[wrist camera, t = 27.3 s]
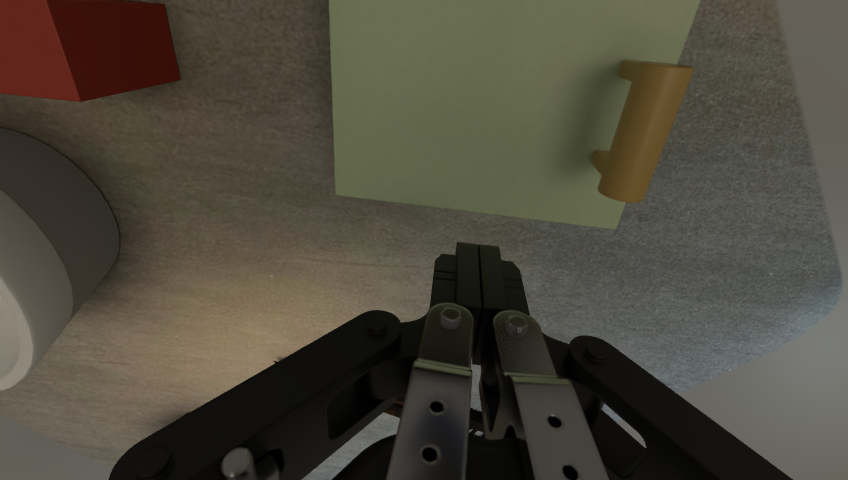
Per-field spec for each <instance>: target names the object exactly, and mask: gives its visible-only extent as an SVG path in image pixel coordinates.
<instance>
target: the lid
mask: <svg viewBox="0 0 848 480" xmlns="http://www.w3.org/2000/svg"><path fill="white" fill-rule="evenodd" d="M700 2H701V0H329V26H330V54H331V83H332V112H333V141H334V169H335V194H336V195H338V196H346V197H354V198H362V199H370V200H379V201H387V202H395V203H403V204H411V205H419V206H427V207H435V208H444V209H452V210H460V211H468V212H476V213H484V214H492V215H500V216H509V217H517V218H525V219H533V220H541V221H549V222H557V223H566V224H574V225H582V226H590V227H598V228H606V229H614V230H615V229H616V228H617V225H618V223H619V220H620V217H621V215H622V212H623V209H624V207H625V204H626V202H629V203H636V202H640V201H642V200H643V199H644V196H645V194H646V191H647V189H648V186H649V183H650V181H651V178H652V176H653V173H654V171H655V168H656V166H657V163H658V161H659V158H660V156H661V153H662V150H663V148H664V145H665V143H666V140H667V138H668V135H669V133H670V130H671V128H672V125H673V123H674V120H675V117H676V115H677V112H678V110H679V107H680V105H681V102H682V100H683V97H684V95H685V92H686V89H687V87H688V84H689V82H690V79H691V77H692V74H693V72H694V68H693V67H690V66H685V65H678V61H679V58H680V56H681V53H682V50H683V48H684V45H685V42H686V40H687V37H688V34H689V32H690V29H691V26H692V23H693V21H694V18H695V15H696V13H697V10H698V7H699V5H700Z"/></svg>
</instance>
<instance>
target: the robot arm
mask: <svg viewBox="0 0 848 480" xmlns="http://www.w3.org/2000/svg"><path fill="white" fill-rule="evenodd" d="M471 357H472V364H476V365H481V376H480V381H479V393H480V400H481V408H482V415H483V423H484V430H485V438H486V439H485V438H482V437H480V436H477V435H474V434H472V433H469V417H470V402H471V387H472V370H471ZM401 396H406V397H405V401H404V405H403V409H402V413H401V418H400V422H399V426H398V430H397V434H396V435H392V436H389V437H386V438H384V439H381V440H379V441H377V442H376V443H374V444H372V445H370V446H369V447H368V448H366V449H365V450H363V451H362V452H361V453H360V454H359V455H358V456H357V457H356V458H354V459H353V460H352V461H351V462H350V463H349V464H348V465H347V466H346V467H345V468H344V469H343V470H342V471H341V472H339V473H338V474H337V475H336V476H335V477H334V478H333V479H332V480H793V479H791V478H790V477H789V476H787V475H786V474H785V473H783V472H782V471H781V470H779V469H777V468H776V467H775V466H774V465H772V464H771V463H770V462H768V461H767V460H766V459H764V458H763V457H762V456H760V455H759V454H758V453H756V452H755V451H753V450H752V449H751V448H749V447H748V446H747V445H745V444H744V443H743V442H741V441H740V440H739V439H737V438H736V437H735V436H733V435H732V434H731V433H729V432H728V431H726V430H725V429H724V428H722V427H721V426H720V425H718V424H717V423H716V422H714V421H713V420H711V419H710V418H709V417H707V416H706V415H705V414H703V413H702V412H701V411H699V410H698V409H697V408H695V407H694V406H692V405H691V404H690V403H689V402H687V401H686V400H685V399H683V398H682V397H681V396H679V395H678V394H676V393H675V392H674V391H672V390H671V389H670V388H668V387H667V386H666V385H664V384H663V383H662V382H660V381H659V380H658V379H656V378H655V377H654V376H652V375H651V374H649V373H648V372H647V371H645V370H644V369H643V368H641V367H640V366H639V365H637V364H636V363H635V362H633V361H632V360H631V359H629V358H628V357H626V356H625V355H624V354H622V353H621V352H620V351H618V350H617V349H616V348H614V347H613V346H612V345H610V344H609V343H607V342H605V341H604V340H601V339H599V338H596V337H592V336H578V337H575V338H574V339H572V341H571V342H570V344H567V343H564V342H561V341H559V340H556V339H553V338H551V337H549V336H547V335H545V334H543V333H542V331H541V328H540V326H539V324H538V323H537V321H536V320H535V319H533V318H532V317H531V316H530V314H529V309H528V305H527V300H526V296H525V291H524V287H523V282H522V278H521V273H520V270H519V269H518V268H517V267H516V265H515V264H514V263H513V262H512V261H503V260H501V256H500V249H499V246H490V245H482V244H479V245H477V244H472V243H463V242H457V246H456V253H455V255H449V254H441V255H440V256H439V257H438V258H437V259H436V261H435V267H434V275H433V284H432V293H431V302H430V309H429V311H428V312H427V314H426V315H425V316H423V317H422V318H420V319H418V320H415V321H410V322H403V323H401V322H400V320H399V319H398V318H397V317H396V316H395V315H393V314H392V313H389V312H386V311H381V310H373V311H368V312H365V313H363V314H361V315H359V316H357V317H355V318H354V319H352V320H350V321H348V322H347V323H345V324H343V325H341V326H340V327H338V328H336V329H335V330H333V331H331V332H329V333H328V334H326V335H324V336H322V337H321V338H319V339H317V340H315V341H314V342H312V343H310V344H308V345H307V346H305V347H303V348H301V349H300V350H298V351H296V352H295V353H293V354H291V355H289V356H288V357H286V358H284V359H282V360H281V361H279V362H277V363H275V364H274V365H272V366H270V367H268V368H267V369H265V370H263V371H261V372H260V373H258V374H256V375H254V376H253V377H251V378H249V379H248V380H246V381H244V382H242V383H241V384H239V385H237V386H235V387H234V388H232V389H230V390H228V391H227V392H225V393H223V394H221V395H220V396H218V397H216V398H214V399H213V400H211V401H209V402H208V403H206V404H204V405H202V406H201V407H199V408H197V409H195V410H194V411H192V412H190V413H188V414H187V415H185V416H183V417H181V418H180V419H178V420H176V421H174V422H173V423H171V424H169V425H168V426H166V427H164V428H162V429H161V430H159V431H157V432H155V433H154V434H152V435H150V436H148V437H147V438H145V439H143V440H141V441H140V442H138V443H137V444H135V445H134V446H133V447H131V448H130V449H129V450H128V451H127V452H126V453H125V454H124V455H123V456H122V457H121V458H120V459H119V460H118V462H117V463H116V465H115V466H114V468H113V470H112V472H111V474H110V477H109V480H301V479H303V478H304V477H305V476H306V475H307V474H309V473H310V472H311V471H312V470H313V469H315V468H316V467H317V466H318V465H320V464H321V463H322V462H323V461H324V460H326V459H327V458H328V457H329V456H330V455H332V454H333V453H334V452H335V451H337V450H338V449H339V448H340V447H341V446H343V445H344V444H345V443H346V442H347V441H349V440H350V439H351V438H352V437H354V436H355V435H356V434H357V433H358V432H360V431H361V430H362V429H363V428H364V427H366V426H367V425H368V424H369V423H370V422H372V421H373V420H374V419H375V418H377V417H378V416H379V415H380V414H381V413H383V412H384V411H385V410H386V409H387V408H389V407H390V406H391V405H392V404H393V403H394V401H395V399H396V397H401ZM604 403H605V404H606V405H607V406H608V407H609V408H611V409H612V410H613V411H614V412H615V413H616V414H618V415H619V416H620V417H621V418H622V419H623V420H625V421H626V422H627V423H628V424H629V425H630V426H631V427H633V428H634V429H635V430H636V431H637V432H638V433H639V434H640V435H641V436H642V438H643V439H644V441H645V444H646V448H644V447H643V446H642V445H641V444H640V443H639V442H638V441H636V440H635V439H634V438H633V437H632V436H631V435H630V434H628V433H627V432H626V431H625V430H624V429H623V428H622V427H621V426H620V425H618V424H617V423H616V422H615V421H614V420H613V419H612V418H611V417H609V416H608V415H607V414H606V413H605V412H604V411H603V410H602V407H603V405H604Z"/></svg>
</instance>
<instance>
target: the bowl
mask: <svg viewBox="0 0 848 480" xmlns="http://www.w3.org/2000/svg"><path fill="white" fill-rule="evenodd" d="M119 248H120V241H119V231H118V227H117V223H116V220H115V218H114V215H113V213H112V211H111V209H110V207H109V205H108V203H107V202H106V200H105V199H104V197H103V196H102V194H101V193H100V191H99V190H98V188H97V187H96V186H95V185H94V184H93V183H92V182H91V180H90V179H89V178H88V177H87V176H86V175H85V174H84V173H83V172H82V171H81V170H80V169H79V168H78V167H77V166H75V165H74V164H73V163H72V162H71V161H70V160H69V159H67V158H66V157H64V156H63V155H61V154H60V153H59V152H57V151H56V150H54V149H53V148H51V147H50V146H48V145H46V144H44V143H42V142H40V141H38V140H36V139H34V138H32V137H30V136H27V135H24V134H22V133H19V132H16V131H13V130H9V129H3V128H0V391H2V390H4V389H7V388H10V387H13V386H15V385H17V384H18V383H19V382H21V381H22V380H23V379H24V378H26V377H27V376H28V375H29V374H30V373H31V371H32V370H33V369H34V367H35V366H36V365H37V364H38V362H39V361H40V360H41V358H42V357H43V356H44V355H45V353H46V352H47V351H48V349H49V348H50V347H51V346H52V344H53V343H54V342H55V340H56V339H57V338H58V336H59V335H60V334H61V333H62V331H63V330H64V328H65V327H66V325H67V324H68V323H69V321H70V320H71V319H72V317H73V316H74V315H75V314H76V312H77V311H78V310H79V308H80V307H81V306H82V305H83V303H84V302H85V301H86V299H87V298H88V297H89V296H90V294H91V293H92V292H93V290H94V289H95V288H96V287H97V285H98V284H99V283H100V281H101V280H102V279H103V278H104V276H105V275H106V274H107V272H108V271H109V270H110V268H111V267H112V265H113V264H114V262H115V261H116V259H117V256H118V252H119Z"/></svg>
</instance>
